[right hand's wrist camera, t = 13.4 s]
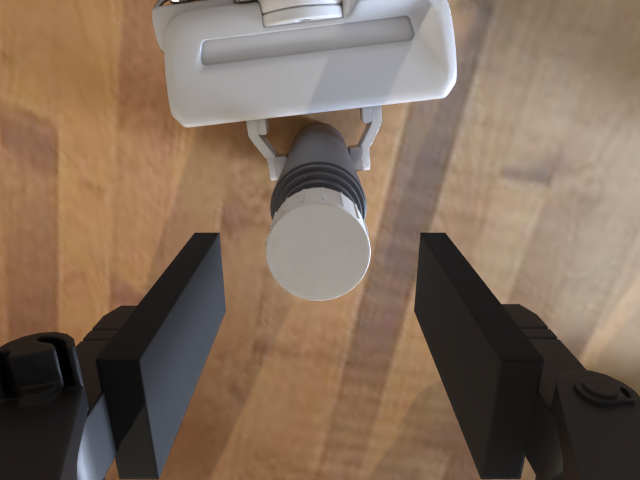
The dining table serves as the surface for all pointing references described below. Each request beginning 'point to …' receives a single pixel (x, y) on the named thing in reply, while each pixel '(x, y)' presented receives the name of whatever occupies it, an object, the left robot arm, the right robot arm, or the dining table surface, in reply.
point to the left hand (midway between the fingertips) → (320, 173)
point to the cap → (318, 245)
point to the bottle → (319, 167)
